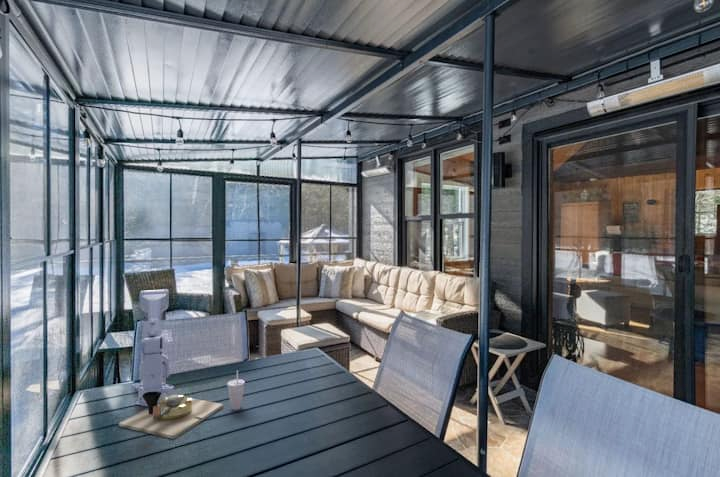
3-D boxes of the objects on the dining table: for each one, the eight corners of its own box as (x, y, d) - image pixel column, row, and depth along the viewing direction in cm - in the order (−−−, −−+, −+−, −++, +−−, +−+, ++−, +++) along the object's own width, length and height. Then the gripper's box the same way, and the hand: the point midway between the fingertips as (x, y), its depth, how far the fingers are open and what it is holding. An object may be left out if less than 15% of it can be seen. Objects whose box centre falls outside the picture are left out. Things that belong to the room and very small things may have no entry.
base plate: (118, 426, 132) (118, 408, 132) (173, 397, 155) (173, 382, 155) (175, 439, 124) (174, 420, 124) (224, 406, 147) (224, 391, 147)
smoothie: (239, 412, 142) (239, 374, 142) (223, 410, 144) (223, 373, 143) (248, 404, 149) (247, 368, 148) (232, 403, 150) (232, 367, 150)
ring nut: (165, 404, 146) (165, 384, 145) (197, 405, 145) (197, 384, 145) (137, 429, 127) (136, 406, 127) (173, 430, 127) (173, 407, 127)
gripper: (124, 375, 126) (124, 416, 127) (163, 378, 124) (164, 420, 124) (140, 367, 133) (140, 406, 134) (178, 370, 131) (178, 410, 131)
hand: (152, 412), depth 129 cm, fingers closed
